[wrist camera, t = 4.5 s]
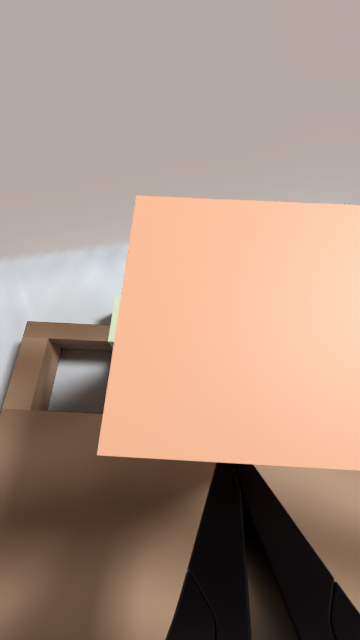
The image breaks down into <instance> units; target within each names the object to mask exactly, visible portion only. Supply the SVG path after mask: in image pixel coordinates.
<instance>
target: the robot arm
mask: <svg viewBox="0 0 360 640" xmlns="http://www.w3.org/2000/svg"><path fill="white" fill-rule="evenodd" d="M165 640H360V613H359V611H358V610H357V609H356V607H355V606H354V604H353V603H352V602H351V600H350V599H349V598H348V596H347V595H346V593H345V592H344V591H343V589H342V588H341V586H340V585H339V584H338V582H336V581H335V582H334V577H333V575H332V574H331V573H330V571H329V570H328V568H327V567H326V566H325V564H324V563H323V561H322V560H321V559H320V557H319V556H318V554H317V553H316V552H315V550H314V549H313V547H312V546H311V545H310V543H309V542H308V540H307V539H306V538H305V536H304V535H303V533H302V532H301V531H300V529H299V528H298V526H297V525H296V524H295V522H294V521H293V519H292V518H291V517H290V515H289V514H288V512H287V511H286V510H285V508H284V507H283V505H282V504H281V503H280V501H279V500H278V498H277V497H276V496H275V494H274V493H273V491H272V490H271V489H270V487H269V486H268V484H267V483H266V482H265V480H264V479H263V477H262V476H261V475H260V473H259V472H258V470H257V469H256V468H255V466H254V465H253V464H237V463H220V462H216V465H215V469H214V472H213V476H212V480H211V483H210V487H209V491H208V494H207V498H206V502H205V505H204V509H203V513H202V517H201V520H200V524H199V528H198V531H197V535H196V539H195V542H194V546H193V550H192V553H191V557H190V561H189V564H188V568H187V573H186V575H185V579H184V582H183V586H182V590H181V593H180V596H179V600H178V603H177V606H176V610H175V613H174V616H173V619H172V622H171V625H170V628H169V630H168V633H167V636H166V639H165Z"/></svg>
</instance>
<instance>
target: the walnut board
mask: <svg viewBox="0 0 360 640" xmlns="http://www.w3.org/2000/svg"><path fill="white" fill-rule="evenodd" d="M109 331H110V325H92V324H72V323H52V322H32V321H27V324H26V328H25V331H24V335H23V338H22V341H21V345H20V348H19V352H18V355H17V359H16V362H15V366H14V369H13V373H12V376H11V379H10V383H9V386H8V390H7V393H6V397H5V400H4V404H3V407H2V411H1V414H0V640H165V639H166V636H167V633H168V630H169V628H170V625H171V622H172V619H173V616H174V613H175V610H176V606H177V603H178V600H179V596H180V593H181V590H182V586H183V582H184V579H185V575H186V573H187V568H188V564H189V561H190V557H191V553H192V550H193V546H194V542H195V539H196V535H197V531H198V528H199V524H200V520H201V517H202V513H203V509H204V505H205V502H206V498H207V494H208V491H209V487H210V483H211V480H212V476H213V472H214V469H215V465H216V462H203V461H186V460H169V459H152V458H134V457H117V456H100V455H97V450H98V444H99V437H100V431H101V424H102V418H103V414H93V413H75V412H57V411H47V410H48V406H49V401H50V397H51V393H52V388H53V384H54V379H55V375H56V371H57V366H58V362H59V358H60V353H61V349H62V348H63V349H83V350H102V351H113V348H112V346H111V345H110V344H109V342H108V337H109ZM253 465H254V464H253ZM254 466H255V468H256V469H257V470H258V472H259V473H260V475H261V476H262V477H263V479H264V480H265V482H266V483H267V484H268V486H269V487H270V489H271V490H272V491H273V493H274V494H275V496H276V497H277V498H278V500H279V501H280V503H281V504H282V505H283V507H284V508H285V510H286V511H287V512H288V514H289V515H290V517H291V518H292V519H293V521H294V522H295V524H296V525H297V526H298V528H299V529H300V531H301V532H302V533H303V535H304V536H305V538H306V539H307V540H308V542H309V543H310V545H311V546H312V547H313V549H314V550H315V552H316V553H317V554H318V556H319V557H320V559H321V560H322V561H323V563H324V564H325V566H326V567H327V568H328V570H329V571H330V573H331V574H332V575H333V577H334V582H335V581H336V582H338V584H339V585H340V586H341V588H342V589H343V591H344V592H345V593H346V595H347V596H348V598H349V599H350V600H351V602H352V603H353V604H354V606H355V607H356V609H357V610H358V611H359V613H360V471H357V470H340V469H323V468H306V467H289V466H272V465H254Z"/></svg>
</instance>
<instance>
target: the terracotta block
mask: <svg viewBox="0 0 360 640" xmlns="http://www.w3.org/2000/svg"><path fill="white" fill-rule="evenodd" d="M97 455H100V456H117V457H134V458H152V459H169V460H186V461H203V462H220V463H237V464H254V465H272V466H289V467H306V468H323V469H340V470H357V471H360V205H342V204H319V203H295V202H271V201H249V200H225V199H202V198H179V197H157V196H136V202H135V208H134V215H133V222H132V228H131V235H130V241H129V248H128V254H127V261H126V267H125V274H124V280H123V287H122V293H121V300H120V306H119V313H118V320H117V326H116V333H115V339H114V346H113V352H112V359H111V365H110V372H109V378H108V385H107V391H106V398H105V405H104V411H103V418H102V424H101V431H100V437H99V444H98V450H97Z"/></svg>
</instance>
